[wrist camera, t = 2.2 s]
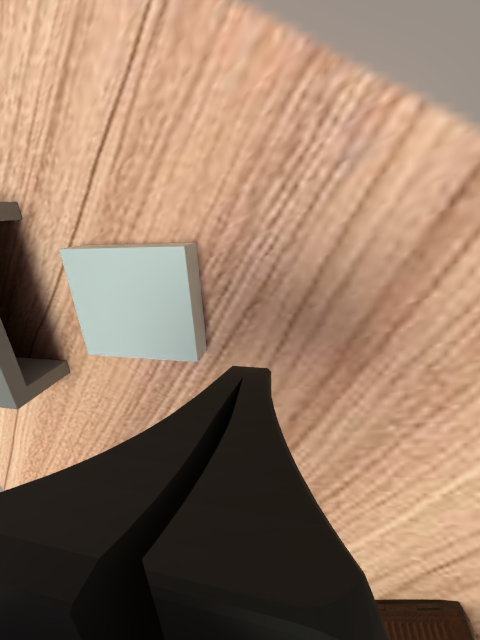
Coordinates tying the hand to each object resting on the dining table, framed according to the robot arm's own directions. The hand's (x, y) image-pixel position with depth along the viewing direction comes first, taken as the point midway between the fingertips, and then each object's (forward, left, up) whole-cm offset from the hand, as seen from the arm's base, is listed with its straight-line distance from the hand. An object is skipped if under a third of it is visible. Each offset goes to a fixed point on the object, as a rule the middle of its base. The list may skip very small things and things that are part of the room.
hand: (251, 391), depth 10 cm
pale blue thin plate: (0, +10, -11) cm, 15 cm away
